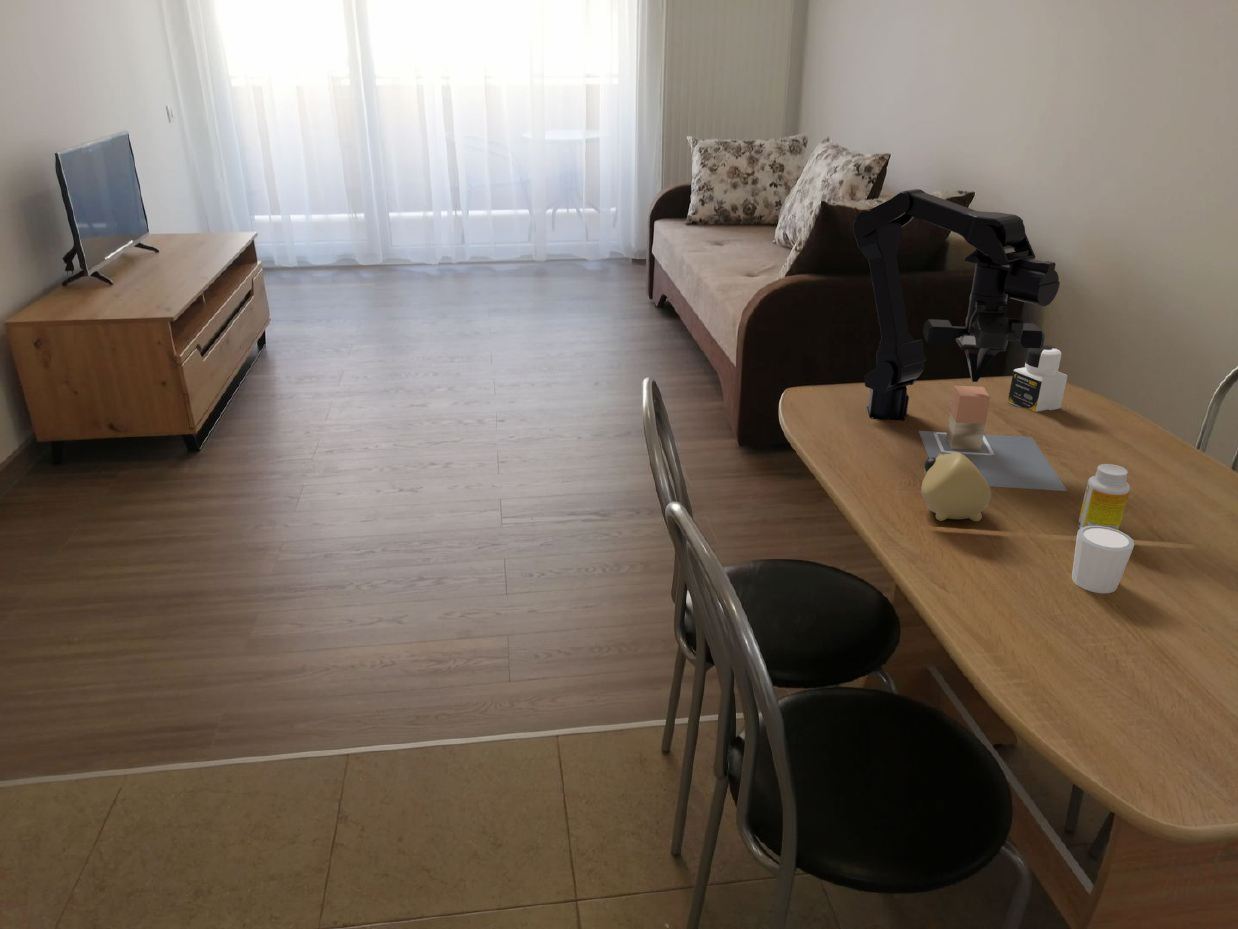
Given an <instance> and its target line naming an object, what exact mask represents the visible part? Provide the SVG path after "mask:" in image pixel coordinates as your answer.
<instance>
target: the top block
mask: <svg viewBox="0 0 1238 929" xmlns="http://www.w3.org/2000/svg"><path fill="white" fill-rule="evenodd" d="M985 388H986V387H984V386H972V385H971V386H970V385H966V386H965V385H954V386H953V390H952V391H953V392H952V397H951V404H950V409H949V410H950V411H949V414H950V413H951V415H952V417H953V419H954V421H955V422H956V423H974V424H985V425H986V423H987V417H988V413H989V412H988V410H989V406H990V400H991V396H990V395H989V393H988V392H987V390H986V389H985Z"/></svg>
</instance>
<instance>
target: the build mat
mask: <svg viewBox="0 0 1238 929" xmlns="http://www.w3.org/2000/svg"><path fill="white" fill-rule="evenodd" d="M918 434H919V437H920V439H921V441H922V443H923V444H922V445H923V447H924V448H925V451H926V454H927V457H928V459H929V458H932V457H935V458H937V457H938V454H942V455H944V454H951V453H955V452H959V453H961V454H963V455H964V456H966V457H967V458H969V459H970V460H971V461H972V463H973V464H974V465H975V466H976V468H977V469H978V470H979V471H980V473H981V474H982V475H983V477H984V478H985V480H986V481H987V483H988V485H989V487H990V488H991V487H992V488H996V487H997V488H1009V489H1023V490H1024V489H1025V490H1039V491H1040V490H1041V491H1055V492H1056V491H1058V492H1068V490H1067V489H1066V487H1065V485H1064V484H1063V483H1062V481H1061V479H1060V478H1059V476H1058V475H1057V473H1056V471H1054V468H1053V467H1052V465H1051V464H1050V463H1049V461H1048V459H1047V458H1046V457H1045V455H1044V454H1043V451H1041V449H1040V448H1039V446H1038V444H1037V443H1036V441H1035V440H1034V439H1033V437H1032V436H1021V435H1019V436H1018V435H1017V436H1016V435H1003V434H1002V435H1000V434H986V433H984V434H983V440H982V445H981V450H965V449H951V447H950V445H949V443H948V441H947V438H946V435H947V431H946V432H945V431H929V430H918Z"/></svg>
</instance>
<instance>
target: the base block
mask: <svg viewBox="0 0 1238 929" xmlns="http://www.w3.org/2000/svg"><path fill="white" fill-rule="evenodd" d="M947 425H948V426H947V431H946V432H947V435H946V438H947V441H948V443H949V445H950V447H951V449H965V450H981V445H982V440H983V434H985V429H986V423H985V424H974V423H956V422H955V421H954V419H953V417H952V415H951V413H950V412H949V418H948V423H947Z"/></svg>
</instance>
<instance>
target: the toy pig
mask: <svg viewBox="0 0 1238 929" xmlns="http://www.w3.org/2000/svg"><path fill="white" fill-rule="evenodd" d="M923 466H924V469H923V474H924V475H923V476H924V478H923V479H922V483H921V489H920V490H921V496H922V498H923V500H924V501H923V502H924V503H925V504H926V507H928V510H929V511H930V512H933V513H934V514H935V518H936V520H938V521H940V522H941V521H945V520H947V519H950V520H965V519H970V520H972V521H973V522H979V521H981V519H982V517H983V515H982V512H983V510H985V509H986V508H987V506H988V505H989V503H990V501H991V498H992V493H993V492H992V489H991V487H990V486H989V485H988V483H987V481H986V480H985V478H984V477H983V475H982V474H981V473H980V471H979V470H978V469H977V468H976V466H975V465H974V464H973V463H972V461H971V460H970V459H969V458H967V457H966V456H964V455H963V454H961V453H959V452H955V453H951V454H944V455H942V454H938V457H937V458H935V457H932V458H929V457H928V458H927V459H926V460H925V462H924V464H923Z"/></svg>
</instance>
